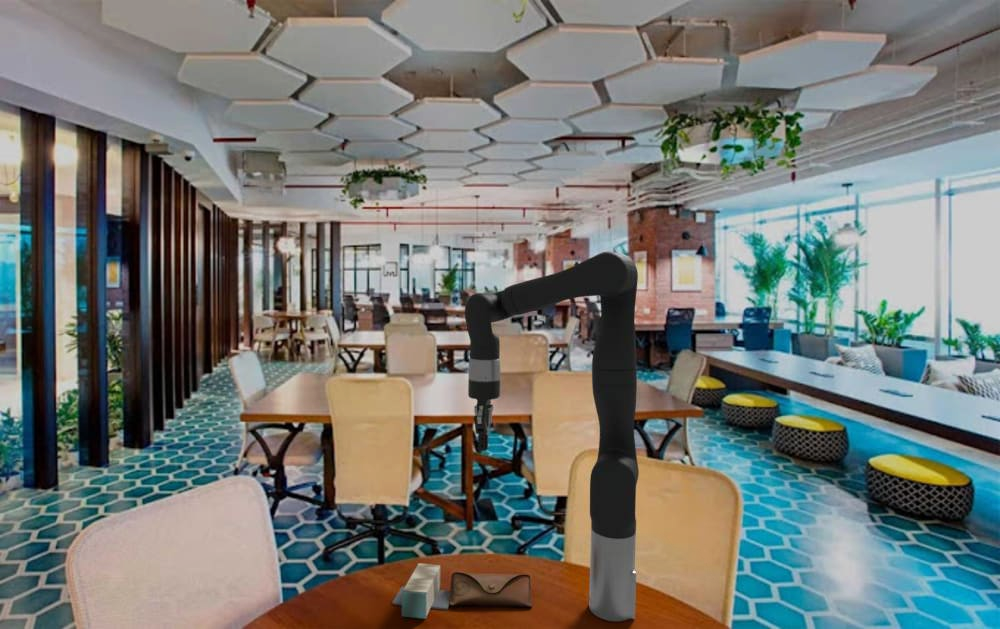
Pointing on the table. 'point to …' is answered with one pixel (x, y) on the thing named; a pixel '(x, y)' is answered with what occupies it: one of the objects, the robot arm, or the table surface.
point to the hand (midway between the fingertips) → (483, 449)
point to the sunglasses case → (490, 590)
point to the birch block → (421, 591)
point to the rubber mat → (439, 602)
